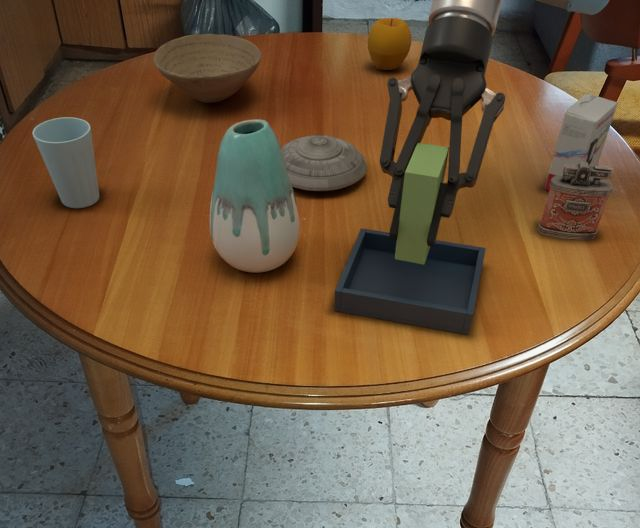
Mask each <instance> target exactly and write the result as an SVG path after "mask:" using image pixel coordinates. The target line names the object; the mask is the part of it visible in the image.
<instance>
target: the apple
mask: <svg viewBox="0 0 640 528" xmlns="http://www.w3.org/2000/svg"><path fill="white" fill-rule="evenodd" d="M412 37H413V36H412V32H411V29H410V26H409V24H408V22H406V21H405V20H403V19H401V18H399V17H384V18H379V19H378V20H376V21H375V22H374V23H373V25H372V26H371V27H370V30H369V33H368V36H367V50H368V54H369V57H370V59H371V61H372V63H373V65H374V67H375V68H376V69H378V70H380V71H393V70H396V69H397V68H400V66H401V65H402V64H403V63H404V61H405V60H406V58H407V57H408V55H409V53H410V51H411V46H412Z"/></svg>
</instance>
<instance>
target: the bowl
mask: <svg viewBox="0 0 640 528" xmlns="http://www.w3.org/2000/svg"><path fill="white" fill-rule="evenodd" d="M261 61H262V51H261V50H260V49H259V47H258V46H257V45H256V44H255V43H253V42H251V41H250V40H248V39H245V38H243V37H240V36H237V35H231V34H225V33H224V34H214V33H201V34H197V33H196V34H189V35H183V36H181V37H177V38H175V39H171V40H169V41H167V42H165V43H164V44H162V45H160V46H159V47H158V48H157V49H156V51H154V55H153V64H154V66H155V68H156V69H157V71H158V72H159V73H160V74H161V75H162V76H163V77H164V78H166V79H167V80H168V81H169V82H170V83H172V84H173V85H174V86H176V87H177V88H179V89H180V90H181V91H182V92H184V94H186V95H187V96H188V97H189V98H191V99H193V100H196V101H199V102H201V103H204V104H206V103H207V104H210V103H218V102H222V101H224V100H226V99H228V98H229V97H231V96H233V95H234V94H235V93H237V92H239V90H240V89H241V88H242V87H243V86H244V84H245V83H246V82H247V81H248V80H249V79H250V78H251V77H252V76H253V75H254V73H255V72H256V70H257V69H258V67H259V65H260V63H261Z"/></svg>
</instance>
